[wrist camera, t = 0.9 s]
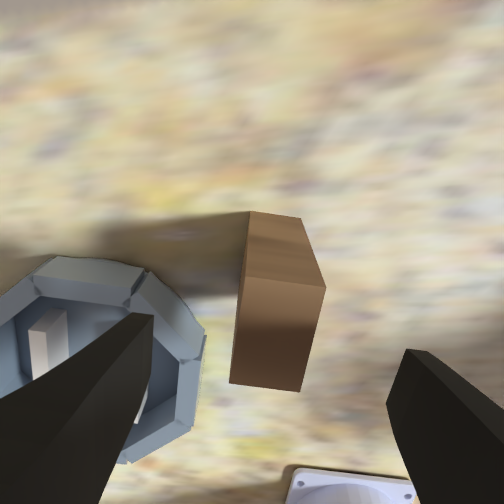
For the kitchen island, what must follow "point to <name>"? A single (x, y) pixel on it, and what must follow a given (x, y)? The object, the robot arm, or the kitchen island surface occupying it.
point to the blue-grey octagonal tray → (94, 325)
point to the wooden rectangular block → (276, 304)
